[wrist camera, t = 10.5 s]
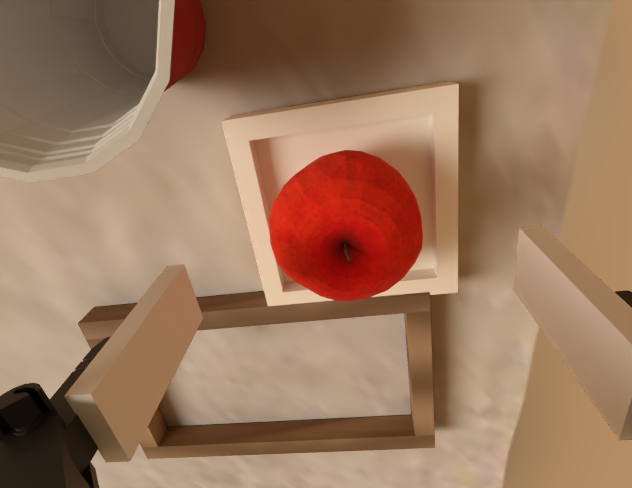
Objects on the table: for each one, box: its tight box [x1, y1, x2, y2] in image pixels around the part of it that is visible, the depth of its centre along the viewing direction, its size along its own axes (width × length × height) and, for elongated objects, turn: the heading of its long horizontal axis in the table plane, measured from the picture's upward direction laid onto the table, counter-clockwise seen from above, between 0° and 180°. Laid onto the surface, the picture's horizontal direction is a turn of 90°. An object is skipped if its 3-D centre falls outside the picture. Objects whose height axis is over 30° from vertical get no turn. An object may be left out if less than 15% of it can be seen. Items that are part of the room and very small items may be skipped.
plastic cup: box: [0, 0, 206, 183], centre depth 16 cm, size 11×11×12 cm
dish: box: [221, 82, 459, 309], centre depth 24 cm, size 12×12×2 cm
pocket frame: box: [78, 291, 435, 459], centre depth 30 cm, size 15×25×2 cm, turn 99°
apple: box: [269, 150, 423, 301], centre depth 20 cm, size 8×8×7 cm
